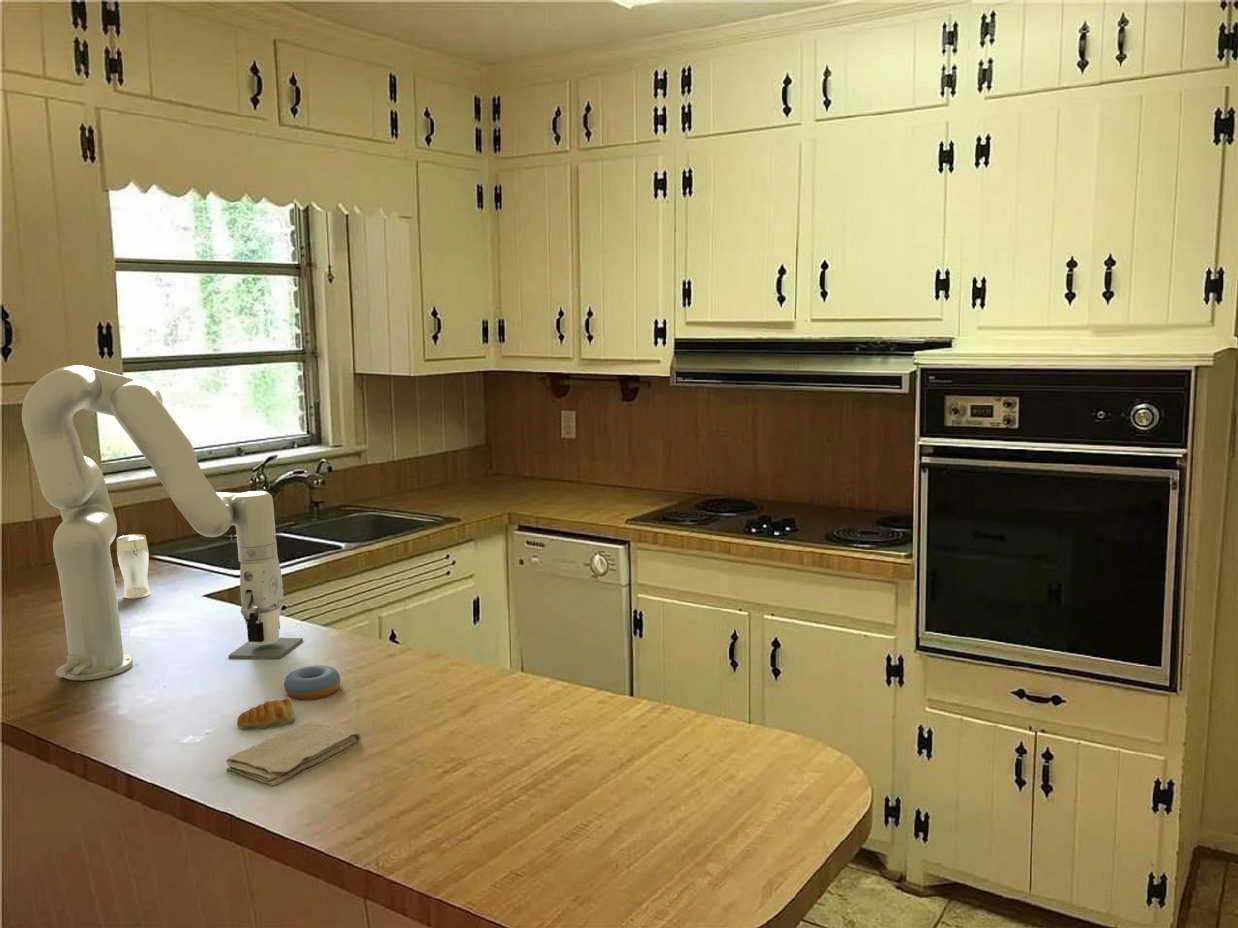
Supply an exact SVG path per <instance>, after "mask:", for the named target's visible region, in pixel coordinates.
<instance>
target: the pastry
mask: <svg viewBox="0 0 1238 928" xmlns="http://www.w3.org/2000/svg"><path fill="white" fill-rule="evenodd" d="M291 698H292V697H285V699H273V700H267V701H265V702H264V703H263V704H259V705H257V706H255V707H251V708H250V709H248V710H246V711H244V712H242V713H240V714H239V716H238V717H237V721H236V722H237V723H236V725H237V726H238V727H239V728H241V729H243V730H247V731H250V730H267V729H273V728H281V727H286V726H290V725H292V724H294V723H295V721H296V713H295V710H294V708H293V702H292V699H291Z"/></svg>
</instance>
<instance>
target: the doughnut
mask: <svg viewBox="0 0 1238 928" xmlns="http://www.w3.org/2000/svg"><path fill="white" fill-rule="evenodd" d="M340 676H341V675H340V673H339V672H338V670H337V669H336V668H334V667H332V666H328V665H309V666H304V667H303V666H302V667H300V668H297V669H295V670H293V671H291V672H290V673H289V674H287V675H286V676H285V678H284V681H283V686H284V690H285V691H284V692H286V694H287V695H288V696H289V698H293V699H296V700H302V701H306V700H315V699H316V700H317V699H321V698H323V697H324V698H325V697H327V696H330V695H331V694H334V693H335V692H336V691H337V690H338V689H339V687H340V686H341V677H340Z"/></svg>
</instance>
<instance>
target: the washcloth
mask: <svg viewBox="0 0 1238 928" xmlns="http://www.w3.org/2000/svg"><path fill="white" fill-rule="evenodd" d="M361 739H362V737H361V734H360V733H359V732H357V731H351V730H348V729H343V728H333V727H331V726H328V725H324V724H321V723H317V722H312V721H307V722H304V723H301V724H299V725H296V726H295V727H292V728H291V729H289V730H285V731H283V732H281V733H278V734H275V735H274V736H272V737H270V738H268V739H267V738H266V739H265V740H264V741H261V742H260V743H257V744H255V745H252V746H251V747H248V748H247V749H244V750H242V751H238V752H237V753H235V754H233V755H231V756H229V758H227V759H226V761H225V762H226V764H227V766H228V767H227V768H226V772H231V773H232V774H233V775H234V776H237V777H240V778H243V779H247V780H249V781H253V782H256V783H259V784H262V785H265V786H266V787H267V786H268V787H274V786H278V785H279V784H282V783H286V782H288V781H290V780H291V779H295V778H297V777H298V776H301V775H303V774H304V773H306V772H309V771H310V770H312V769H314V768H317V767H318V766H320V765H322V764H323V763H326V762H328V761H329V760H331V759H333V758H335V757H337V756H338V755H341V754H343V753H345V752H346V751H348V750H351V749H352V748H355V747H356V746H357V745H358V744H359V743H360V741H361Z"/></svg>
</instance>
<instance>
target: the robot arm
mask: <svg viewBox="0 0 1238 928" xmlns="http://www.w3.org/2000/svg"><path fill="white" fill-rule="evenodd" d="M21 407H22V408H21V420H22V427H23V429H24V430H23V431H24V434H25V437H26V440H27V444H28V447H29V451H30V455H31V459H32V463H33V465H34V466H33V467H34V469H35V472H36V476H37V480H38V483H39V488H40V491H41V494H42V496H43V498H44V499H45V501H46V502H47V503H49V505H50V506H53V508H56V509H58V510H59V513H60V516H61V517H60V518H61V519H62V522H61V523H60V524H59V525H58V526H57V528H56V530H55V532H54V535H53V539H52V540H53V541H52V550H53V551H52V552H53V556H54V559H55V560H54V561H55V565H56V568H57V573H58V580H59V586H60V593H61V594H60V595H61V600H62V610H63V618H64V626H65V634H66V635H65V636H66V642H67V643H66V645H67V650H68V655H66V662H65V664H63V665H62V666H59V667H58V668H56V669H55V675H56V676H57V677H58V678H64V679H66V680H70V681H91V680H99V679H103V678H108V677H112V676H116V675H118V674H120V673H123V672H126V671H127V670H128V669H130V668H131V667H132V666H133V663H134V661H133V656H131V655H128V654H125V653H124V651H123V650H124V649H123V641H122V631H121V621H120V615H119V614H120V611H119V602H118V594H117V593H118V592H117V587H116V586H117V585H116V579H115V578H116V576H115V571H114V566H113V560H112V555H111V544H113V542H114V540H115V538H116V536H117V532H118V524H117V523H118V522H117V518H116V515H115V512H114V508H113V504H112V501H111V498H110V495H109V491H108V487H107V485H106V481H105V477H104V475H103V472H102V470H101V469H100V467H99V465H98V464H97V463H96V462H95V461H94V460H93V459H91V458H90V457H87V456H85V454H84V452H83V449H82V446H81V442H80V441H81V440H80V438H79V434H78V432H77V430H76V427H75V424H74V421H73V418H74V415H75V413H76V412H79V411H80V410H86V411H92V412H95V413H99V414H103V415H107V416H113V417H114V418H115V420H116V421H117V423H118V424H119V425H120V427H121V428H122V429H123V431H124V433H126V434H127V435H128V437H129V438H130V439H131V441H132V442H133V443H134V445H135V446H136V447H137V449H138V450H139V451H140V453H141V454H142V456H143V458H145V460H146V461H147V463H148V464H149V465H150V467H151V468H152V469H153V471H154V473H155V476H156V478H157V479H158V480H159V482H161V484H162V486H163V488H164V489H165V492H167V494H168V496H169V498H170V499H171V501H172V502H173V503H174V505H175V506H176V508H177V509H178V510H179V512H180V513H181V514H182V516H183V518H185V519H186V521H187V522H188V523H189V525H190V526H191V527H192V528H193V530H194V531H196V532H197V533H198V534H200V535H201V536H203V537H208V538H216V537H219V536H220V537H221V536H222V535H223V534H225V533H226V532H228V531H229V530H230V527H232V526H235V530H236V531H235V534H236V543H237V545H236V546H237V554H238V555H237V556H238V562H240V567H239V581H240V582H239V584H240V585H239V589H240V601H241V608H240V614H241V615H242V616H243V619H244V623H245V624H246V629H247V630H246V631H247V640H248V641H249V642H263V641H264V631H263V622H261V615H262V610H266V609H267V608H269V607H271V606H272V605H274V604H276V605H279V606H280V604H279V603H280V601H281V600H282V599H283V597H284V584H283V578H282V577H283V576H282V570H281V566H280V560H279V557H278V548H277V547H278V545H277V533H276V522H275V509H274V498H273V496H272V494H271V493H269V492H268V491H264V490H254V491H253V490H252V491H251V490H250V491H245V492H221V491H219V492H218V491H216V490H215V489H214V488H213V486H212V485H211V483H210V482H209V479H207V477H206V476H205V474H204V472H203V470H202V469H201V467H200V464H199V462H198V459H197V455H196V452H195V450H194V447H193V445H192V443H191V441H190V440H189V438H188V437H187V436H186V434H185V433H184V432H183V430H182V429H181V428H180V426H179V425H178V424H177V421H175V420H174V418H173V417H172V415H171V414H170V413H169V411H168V410H167V408H166V407H165V406H164V404H163V397H162V394H161V392H160V391H159V389H158V388H157V387H156V386H155V385H154V384H153V383H150V382H148V381H146V380H142V379H138V378H133V377H130V376H126V375H123V374H122V375H121V374H117V373H113V372H109V371H105V370H101V369H98V368H94V367H89V366H85V365H69V366H64V367H63V366H62V367H59V368H57V369H54V370H52V371H50V372H48V373H47V374H46V375H43V376H42V377H41V378H40V379H38V380H37V381H36V382H35V383H34V384H33V385H32V386H30V389H29V390H28V391H27V393H26V395H25V397H24V400H23V403H22V406H21ZM252 606H257V608H251V607H252ZM252 611H257V614H256V616H255V614H254V613H251V612H252ZM280 629H281V623H280V620H279V630H280ZM248 641H247V642H248Z"/></svg>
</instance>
